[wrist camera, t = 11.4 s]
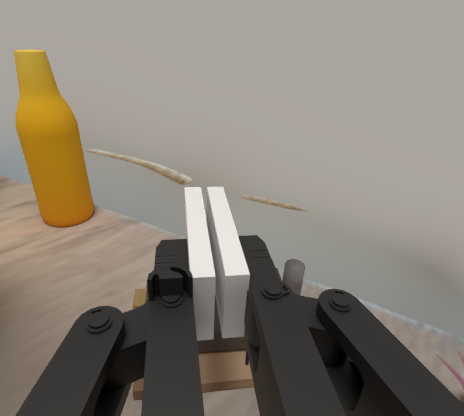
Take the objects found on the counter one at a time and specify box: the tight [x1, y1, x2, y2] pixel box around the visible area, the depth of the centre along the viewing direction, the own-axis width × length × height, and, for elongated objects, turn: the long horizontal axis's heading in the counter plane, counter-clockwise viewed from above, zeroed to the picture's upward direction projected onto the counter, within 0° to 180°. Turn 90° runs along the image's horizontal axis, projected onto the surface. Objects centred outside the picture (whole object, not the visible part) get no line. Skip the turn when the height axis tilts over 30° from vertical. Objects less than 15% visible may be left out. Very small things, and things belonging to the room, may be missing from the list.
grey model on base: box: [133, 259, 305, 400], centre depth 36 cm, size 19×10×13 cm, turn 98°
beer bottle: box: [14, 50, 94, 227], centre depth 57 cm, size 9×9×29 cm
